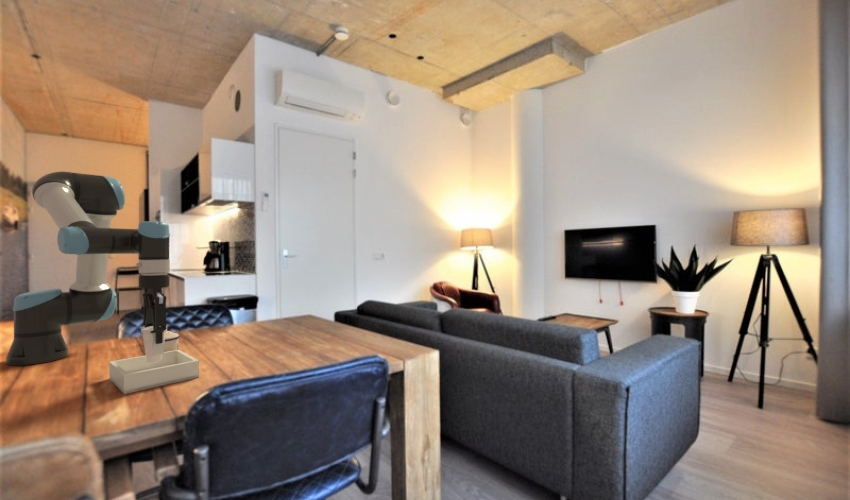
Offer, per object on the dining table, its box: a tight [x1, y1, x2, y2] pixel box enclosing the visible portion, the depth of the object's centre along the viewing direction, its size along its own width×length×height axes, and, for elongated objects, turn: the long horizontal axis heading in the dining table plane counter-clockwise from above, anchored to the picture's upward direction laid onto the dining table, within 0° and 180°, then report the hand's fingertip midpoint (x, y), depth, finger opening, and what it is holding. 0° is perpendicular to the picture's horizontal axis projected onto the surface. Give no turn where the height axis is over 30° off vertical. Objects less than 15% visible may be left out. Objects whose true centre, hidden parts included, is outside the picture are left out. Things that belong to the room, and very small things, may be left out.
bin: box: [108, 349, 200, 395], centre depth 116 cm, size 18×18×5 cm
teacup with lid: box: [164, 329, 180, 352], centre depth 131 cm, size 12×9×12 cm
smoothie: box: [140, 325, 168, 362], centre depth 116 cm, size 6×6×14 cm
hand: (154, 352), depth 116 cm, fingers closed on smoothie, 6 cm apart
